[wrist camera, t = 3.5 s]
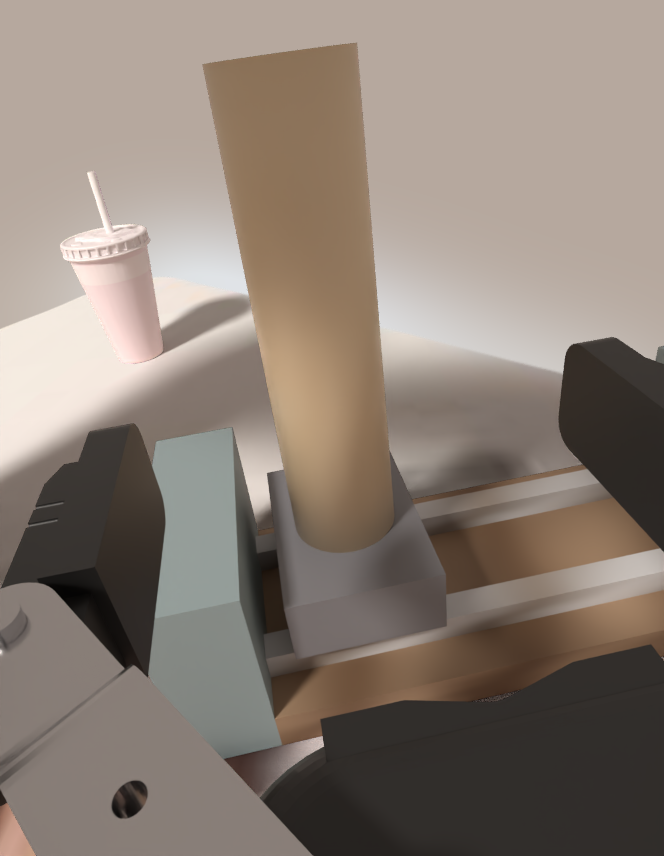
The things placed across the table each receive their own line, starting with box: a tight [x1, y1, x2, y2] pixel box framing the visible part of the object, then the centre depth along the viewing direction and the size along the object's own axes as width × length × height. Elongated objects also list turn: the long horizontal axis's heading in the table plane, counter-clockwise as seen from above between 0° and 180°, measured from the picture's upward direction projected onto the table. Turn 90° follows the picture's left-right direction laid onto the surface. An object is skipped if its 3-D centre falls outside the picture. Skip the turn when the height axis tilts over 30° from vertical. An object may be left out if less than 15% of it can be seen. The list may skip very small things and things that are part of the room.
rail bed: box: [256, 465, 664, 745], centre depth 23 cm, size 24×9×2 cm, turn 100°
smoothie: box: [60, 171, 164, 364], centre depth 45 cm, size 6×6×14 cm
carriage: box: [203, 43, 447, 659], centre depth 17 cm, size 5×7×16 cm
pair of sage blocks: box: [148, 346, 664, 759], centre depth 22 cm, size 24×9×7 cm, turn 100°
